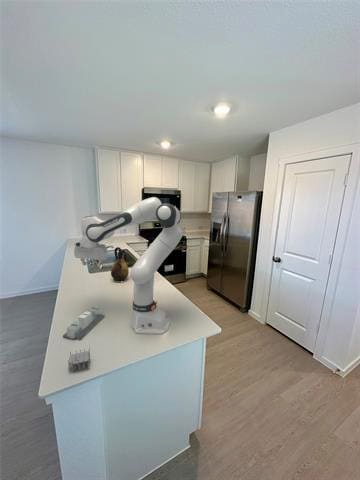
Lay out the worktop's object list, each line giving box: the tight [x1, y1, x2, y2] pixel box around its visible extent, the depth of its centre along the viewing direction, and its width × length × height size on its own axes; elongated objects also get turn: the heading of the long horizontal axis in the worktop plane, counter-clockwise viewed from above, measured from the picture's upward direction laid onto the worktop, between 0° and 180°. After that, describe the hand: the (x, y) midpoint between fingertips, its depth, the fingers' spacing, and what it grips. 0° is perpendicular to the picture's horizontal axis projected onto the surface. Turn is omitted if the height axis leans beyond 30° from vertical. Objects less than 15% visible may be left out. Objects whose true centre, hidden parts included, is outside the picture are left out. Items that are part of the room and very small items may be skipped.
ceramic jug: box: [110, 246, 130, 282], centre depth 176 cm, size 17×15×30 cm
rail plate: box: [62, 305, 106, 341], centre depth 111 cm, size 10×23×6 cm, turn 169°
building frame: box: [67, 347, 91, 373], centre depth 84 cm, size 6×8×6 cm
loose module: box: [77, 311, 92, 328], centre depth 110 cm, size 4×6×6 cm, turn 169°
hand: (91, 265), depth 119 cm, fingers open, 8 cm apart
